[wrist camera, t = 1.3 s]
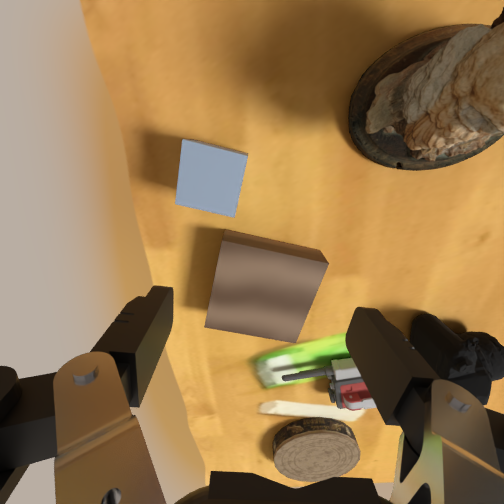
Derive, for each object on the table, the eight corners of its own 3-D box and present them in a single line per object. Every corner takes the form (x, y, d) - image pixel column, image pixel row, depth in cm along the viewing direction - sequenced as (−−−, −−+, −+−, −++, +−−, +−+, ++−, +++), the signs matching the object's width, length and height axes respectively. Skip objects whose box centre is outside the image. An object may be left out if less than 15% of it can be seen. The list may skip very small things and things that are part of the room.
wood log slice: (314, 471, 52) (318, 489, 49) (255, 446, 48) (256, 464, 45) (371, 435, 47) (378, 453, 44) (311, 403, 42) (315, 421, 40)
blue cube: (195, 139, 25) (182, 139, 20) (248, 153, 25) (247, 156, 20) (188, 192, 27) (175, 204, 22) (237, 204, 27) (234, 217, 22)
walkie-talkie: (411, 344, 36) (279, 365, 38) (430, 370, 32) (282, 392, 34) (408, 382, 40) (288, 400, 42) (425, 410, 36) (292, 428, 38)
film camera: (461, 372, 39) (520, 433, 31) (402, 384, 40) (445, 447, 31) (478, 298, 33) (558, 349, 25) (408, 312, 33) (465, 368, 25)
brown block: (225, 228, 29) (221, 240, 25) (319, 249, 30) (328, 263, 27) (209, 307, 34) (204, 327, 30) (290, 322, 35) (295, 343, 31)
